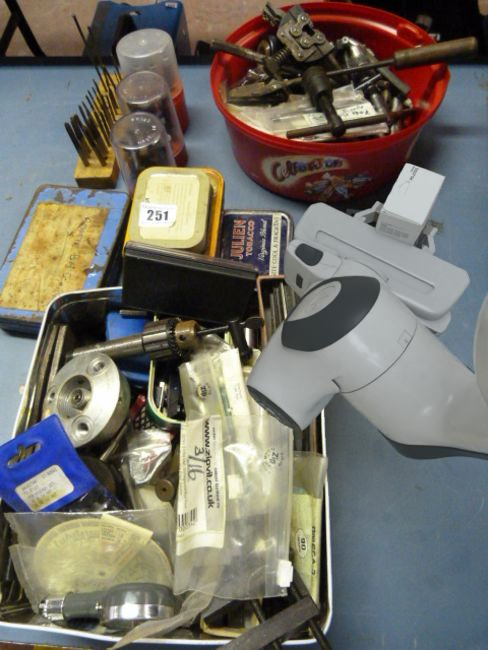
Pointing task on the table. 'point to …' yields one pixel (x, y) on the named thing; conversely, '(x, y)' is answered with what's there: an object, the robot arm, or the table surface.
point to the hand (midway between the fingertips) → (405, 217)
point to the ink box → (409, 204)
